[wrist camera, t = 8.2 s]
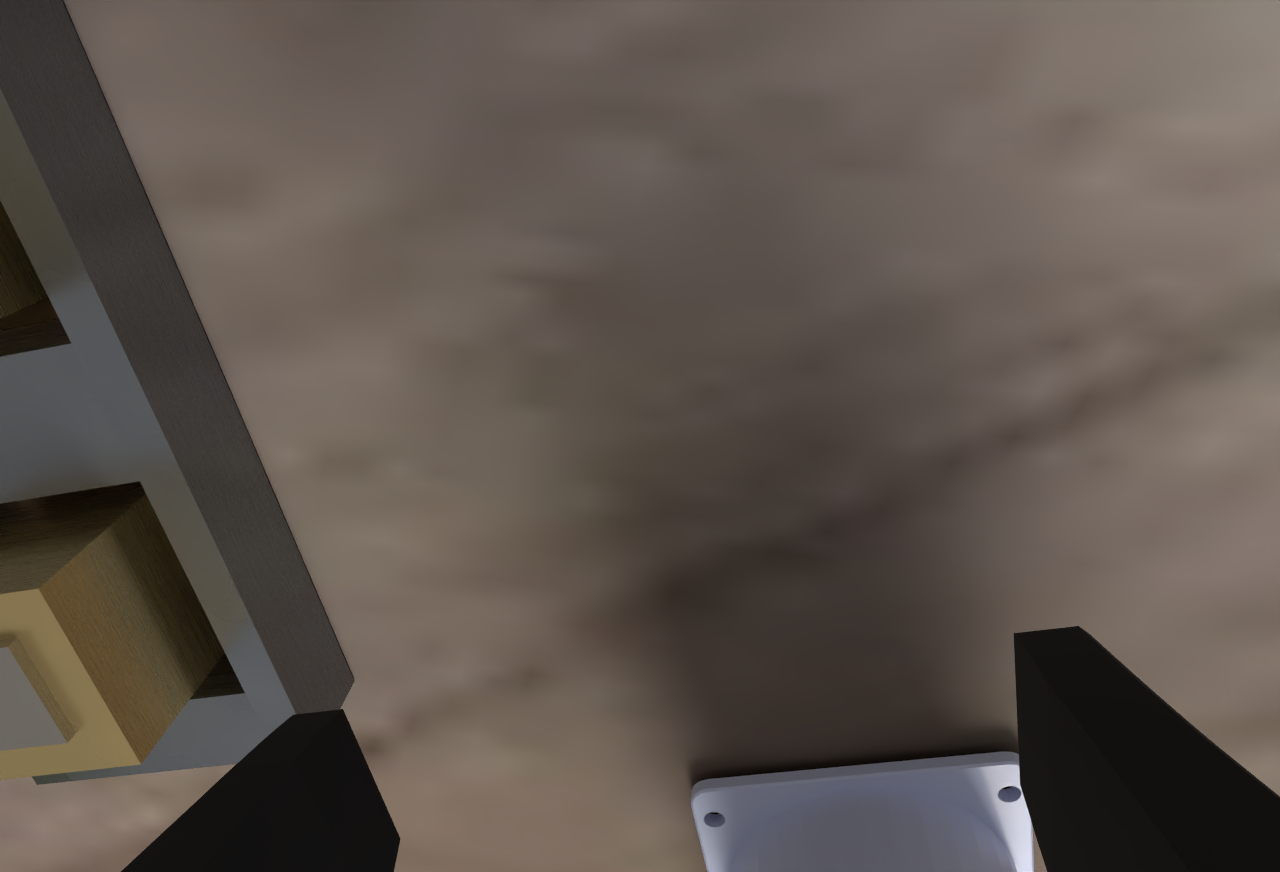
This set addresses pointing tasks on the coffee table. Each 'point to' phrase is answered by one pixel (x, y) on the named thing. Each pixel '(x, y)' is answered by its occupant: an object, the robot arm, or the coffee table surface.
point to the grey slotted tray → (142, 401)
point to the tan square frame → (93, 632)
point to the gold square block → (16, 272)
